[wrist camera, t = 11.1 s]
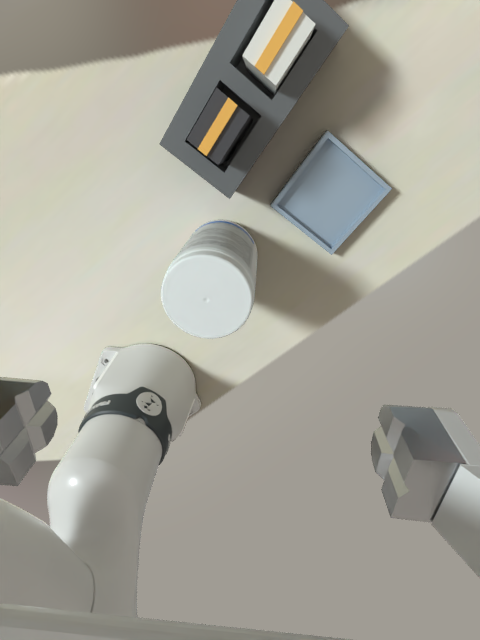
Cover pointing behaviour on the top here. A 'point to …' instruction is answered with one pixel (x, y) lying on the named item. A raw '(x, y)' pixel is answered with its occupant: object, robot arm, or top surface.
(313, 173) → the slate tray
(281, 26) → the white orange-striped block
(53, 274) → the top surface
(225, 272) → the supplement tub
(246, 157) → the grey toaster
